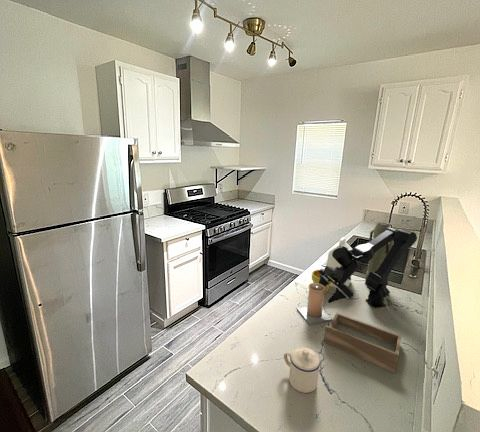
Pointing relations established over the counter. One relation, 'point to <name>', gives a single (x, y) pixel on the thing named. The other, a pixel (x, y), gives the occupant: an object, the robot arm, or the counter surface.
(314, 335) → the counter surface
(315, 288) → the terracotta pot
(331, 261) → the milk
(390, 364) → the wooden box frame
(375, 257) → the thermos
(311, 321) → the slate tile
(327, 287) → the plant pot
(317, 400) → the counter surface
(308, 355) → the teacup with lid
